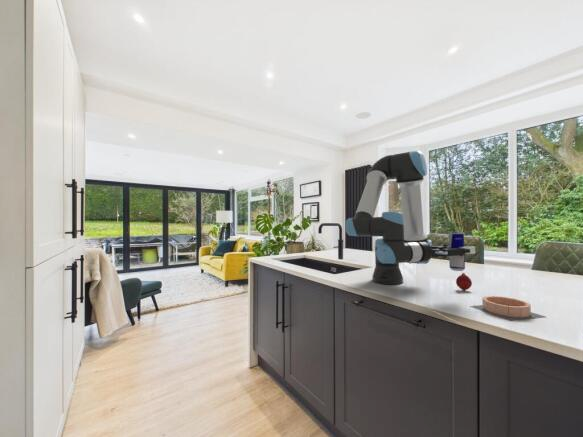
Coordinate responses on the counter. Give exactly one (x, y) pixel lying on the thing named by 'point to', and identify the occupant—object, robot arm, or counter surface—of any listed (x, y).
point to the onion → (463, 282)
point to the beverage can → (458, 261)
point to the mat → (532, 316)
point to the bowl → (507, 306)
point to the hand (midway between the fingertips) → (467, 249)
